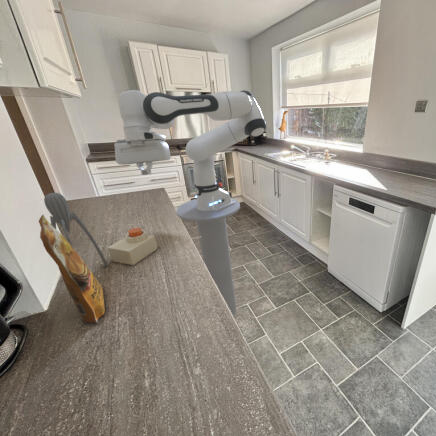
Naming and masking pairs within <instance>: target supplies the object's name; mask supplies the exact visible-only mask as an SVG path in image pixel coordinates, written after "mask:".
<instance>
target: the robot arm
mask: <svg viewBox="0 0 436 436" xmlns="http://www.w3.org/2000/svg"><path fill="white" fill-rule="evenodd" d="M118 107H119V109H118V110H119V115H120V118H121V119H122V122H123V129H122V130H123V133H124V137H125V138H123V139H117V140H116V141H115V142H114V144H113V145H114V157H115V158H114V159H115V162H116V163H117V164H118V165H122V166H123V165H124V166H125V165H136V167H137V168H138V169H139V171H140V174H141V176H147V175H152V168H153V165H154V164H153V163H155V162H163V161H165V162H166V161H170V160H171V158H172V156H171V150H170V148H169V145H168V143H167V142H166V140H167V137H166V135H164V134H161V133H158V132H157V133H156V132H154V131H152V128H153V129H157V130H168V129H170V128H172V127H173V126H174V124H175V123H176V118H178V117H180V116H181V117H182V116H190V115H199V114H201V115H205V116H207V117H209V118H210V119H211V120H212V121H215V122H217V121H218V122H219V121H220V122H221V121H226V122H224V123H223V124H220V125H219V126H216V127H215V128H212V129H210V130H208V131H206V132H203V133H201V134H200V135H197V136H196V137H194V138H192V139H190V140H189V141H188V142H187V143H186V146H185V149H184V150H185V151H184V152H185V154H186V156H187V157H188V158H189V159H190V160H191V161H193V166H192V167H193V168H192V173H193V178H194V191H195V196H194V199H197V206H196V209H197V210H200V211H219V210H221V209H224V208H226V207H228V206H231V205H233V204H235V201H234V200H233V199H234V198H233V199H231V198H232V197H233V196H232V195H233V194H232V192H230V191H227V190H225V189H223V188H222V187H223V183H222V182H217V179H216V172H215V155H216V154H218V153H221V152H222V151H224V150H226V149H227V148H230V147H232V146H234V145H236V144H238V143H240V142H241V141H243V140H245V139H247V138H248V137H252V138H255V137H256V138H257V137H260V136H262V135H263V134H264V133H265V132H266V129H267V123H266V120H265V118H264V115H263V112H262V110H261V108H260V106H259V105H258V102H257V101H256V98H255V96H254V95H253V93H252V92H250V91H248V90H245V89H244V90H239V91H237V90H236V91H235V90H229V91H228V90H227V91H219V92H213V93H207V94H192V95H191V94H189V95H170V94H168V93H164V92H160V91H159V92H158V91H156V92H155V91H154V92H150V93H149V94H144V93H143V92H142V91H141V90H138V89H127V90H124V91H122V92H120V93H119V95H118ZM145 165H146V168H145V167H144V166H145Z"/></svg>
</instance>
